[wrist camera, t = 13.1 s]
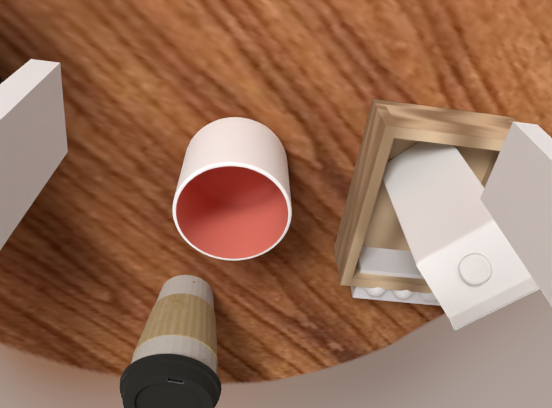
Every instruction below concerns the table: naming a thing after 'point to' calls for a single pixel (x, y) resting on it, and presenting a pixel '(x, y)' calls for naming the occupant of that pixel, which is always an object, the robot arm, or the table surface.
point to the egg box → (390, 265)
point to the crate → (372, 191)
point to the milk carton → (454, 233)
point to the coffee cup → (176, 351)
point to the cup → (233, 190)
